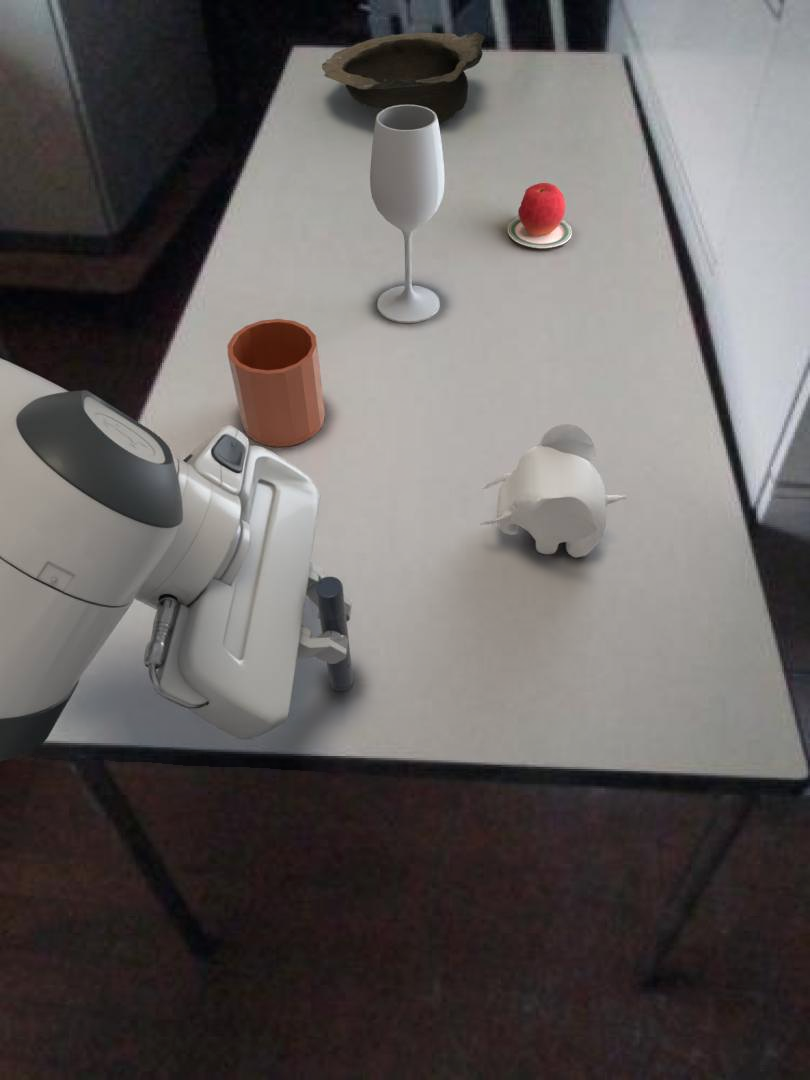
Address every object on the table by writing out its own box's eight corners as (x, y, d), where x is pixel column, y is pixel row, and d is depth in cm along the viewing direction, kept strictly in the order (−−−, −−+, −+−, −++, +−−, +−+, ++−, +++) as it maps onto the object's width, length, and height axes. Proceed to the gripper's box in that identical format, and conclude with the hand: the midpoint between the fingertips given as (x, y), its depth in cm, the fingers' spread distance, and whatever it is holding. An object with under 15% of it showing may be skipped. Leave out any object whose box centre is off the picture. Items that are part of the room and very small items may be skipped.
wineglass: (401, 279, 102) (397, 94, 86) (454, 300, 99) (461, 113, 83) (362, 309, 98) (351, 122, 82) (416, 332, 95) (416, 142, 79)
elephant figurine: (482, 487, 79) (488, 413, 72) (613, 497, 78) (632, 423, 71) (475, 566, 73) (481, 494, 66) (618, 578, 72) (638, 507, 65)
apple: (523, 256, 105) (528, 206, 100) (497, 224, 110) (501, 175, 105) (582, 244, 106) (590, 194, 101) (554, 213, 111) (560, 164, 106)
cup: (264, 458, 82) (250, 384, 75) (229, 410, 87) (213, 337, 80) (339, 427, 85) (332, 353, 78) (301, 382, 89) (291, 309, 82)
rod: (336, 695, 65) (323, 601, 55) (325, 678, 66) (310, 583, 56) (357, 684, 65) (347, 590, 56) (346, 667, 66) (334, 571, 57)
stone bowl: (491, 137, 125) (490, 70, 118) (322, 151, 127) (312, 86, 120) (482, 67, 141) (481, 4, 134) (333, 81, 143) (324, 20, 136)
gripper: (167, 664, 45) (362, 755, 52) (234, 407, 58) (382, 508, 65) (107, 703, 48) (297, 784, 55) (183, 453, 62) (329, 544, 69)
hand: (343, 633), depth 60 cm, fingers closed on rod, 2 cm apart
